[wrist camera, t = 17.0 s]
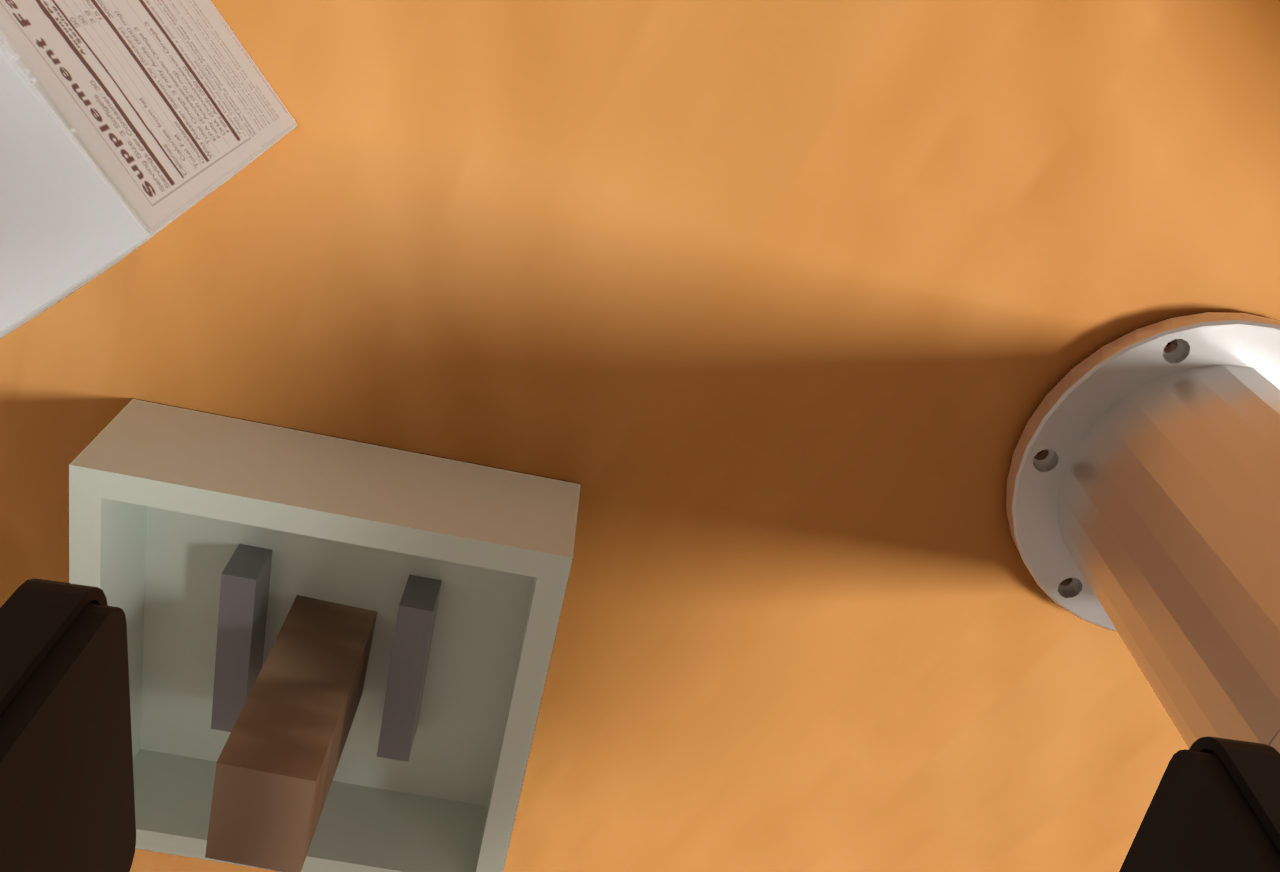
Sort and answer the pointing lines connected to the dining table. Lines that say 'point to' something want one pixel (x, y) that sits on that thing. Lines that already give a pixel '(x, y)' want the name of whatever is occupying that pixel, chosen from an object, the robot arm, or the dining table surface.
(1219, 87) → the dining table surface
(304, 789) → the walnut timber post
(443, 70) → the dining table surface
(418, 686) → the pale green tray
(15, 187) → the supplement box
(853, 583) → the dining table surface
